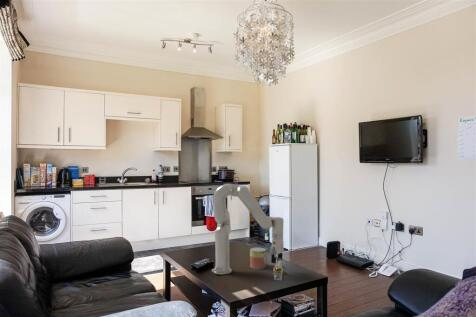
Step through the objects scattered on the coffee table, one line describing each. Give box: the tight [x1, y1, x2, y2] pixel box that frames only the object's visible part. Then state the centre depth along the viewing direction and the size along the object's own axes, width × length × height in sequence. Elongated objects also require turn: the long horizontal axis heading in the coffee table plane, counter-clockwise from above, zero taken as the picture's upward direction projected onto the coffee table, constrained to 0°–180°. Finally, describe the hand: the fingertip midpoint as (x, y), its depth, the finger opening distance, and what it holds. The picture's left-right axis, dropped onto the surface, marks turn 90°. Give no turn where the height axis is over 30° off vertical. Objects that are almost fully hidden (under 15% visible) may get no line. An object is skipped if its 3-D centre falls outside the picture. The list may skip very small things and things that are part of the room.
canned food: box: [249, 247, 267, 270], centre depth 232 cm, size 11×11×12 cm
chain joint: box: [272, 264, 284, 281], centre depth 217 cm, size 27×7×2 cm, turn 172°
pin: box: [275, 257, 282, 271], centre depth 217 cm, size 4×4×10 cm
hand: (276, 261), depth 217 cm, fingers open, 9 cm apart
